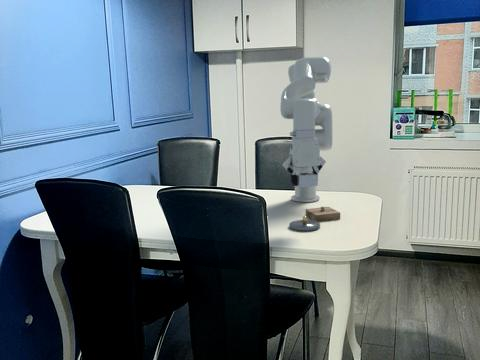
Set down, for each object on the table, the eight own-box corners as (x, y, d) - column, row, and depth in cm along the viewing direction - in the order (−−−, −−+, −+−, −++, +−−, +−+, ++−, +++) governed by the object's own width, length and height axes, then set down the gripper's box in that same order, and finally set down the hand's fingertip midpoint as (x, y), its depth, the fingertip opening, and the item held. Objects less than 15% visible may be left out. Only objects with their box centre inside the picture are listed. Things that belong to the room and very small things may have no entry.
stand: (305, 215, 191) (305, 205, 190) (328, 212, 194) (328, 203, 193) (316, 221, 182) (316, 211, 181) (340, 218, 184) (340, 208, 184)
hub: (285, 224, 179) (284, 214, 178) (312, 221, 182) (312, 211, 181) (296, 233, 168) (296, 221, 168) (325, 229, 171) (325, 218, 171)
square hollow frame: (299, 187, 168) (299, 176, 167) (291, 183, 174) (291, 173, 174) (317, 185, 170) (317, 174, 169) (309, 182, 176) (309, 171, 175)
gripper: (284, 137, 163) (285, 188, 166) (331, 134, 167) (331, 184, 171) (277, 135, 170) (277, 184, 173) (322, 132, 175) (322, 180, 178)
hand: (304, 184), depth 172 cm, fingers closed on square hollow frame, 7 cm apart
